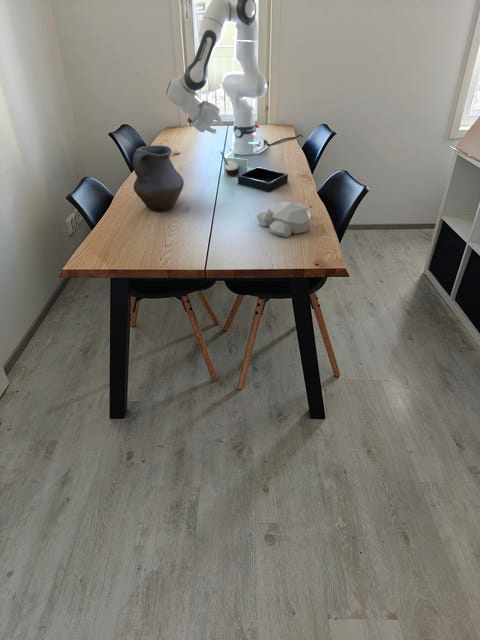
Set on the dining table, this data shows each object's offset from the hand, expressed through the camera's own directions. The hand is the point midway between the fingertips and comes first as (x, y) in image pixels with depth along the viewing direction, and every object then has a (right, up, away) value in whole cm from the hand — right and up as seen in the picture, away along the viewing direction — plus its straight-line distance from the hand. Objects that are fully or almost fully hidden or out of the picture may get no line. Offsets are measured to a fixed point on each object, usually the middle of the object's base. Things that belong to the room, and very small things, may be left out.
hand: (219, 128), depth 215 cm
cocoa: (+6, -23, +1) cm, 23 cm away
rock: (+27, -58, -47) cm, 79 cm away
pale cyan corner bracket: (+10, -18, +6) cm, 22 cm away
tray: (+21, -29, -8) cm, 37 cm away
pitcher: (-23, -47, -30) cm, 60 cm away
